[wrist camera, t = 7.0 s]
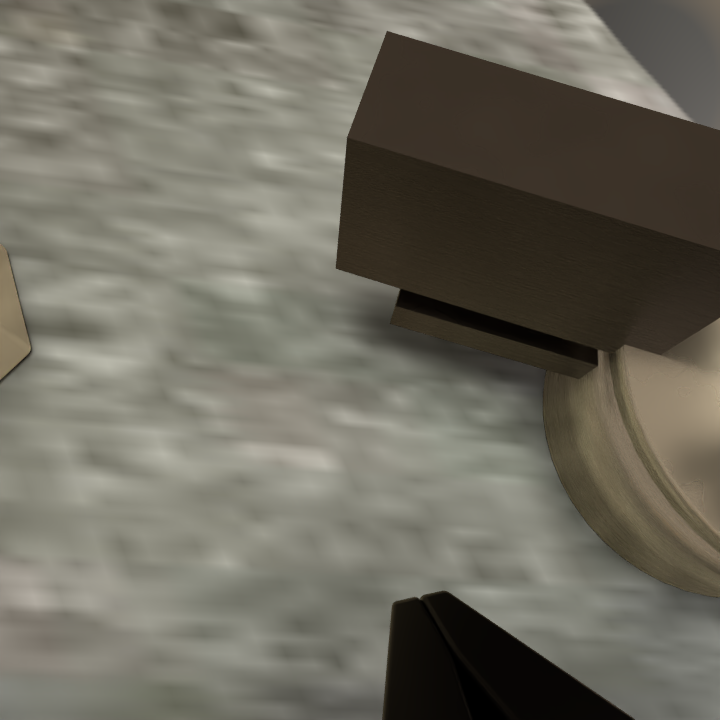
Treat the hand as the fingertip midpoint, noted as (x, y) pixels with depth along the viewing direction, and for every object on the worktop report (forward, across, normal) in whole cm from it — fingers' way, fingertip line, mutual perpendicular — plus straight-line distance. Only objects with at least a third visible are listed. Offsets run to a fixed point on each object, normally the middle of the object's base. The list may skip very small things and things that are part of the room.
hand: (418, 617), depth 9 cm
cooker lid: (+9, +11, -1) cm, 14 cm away
